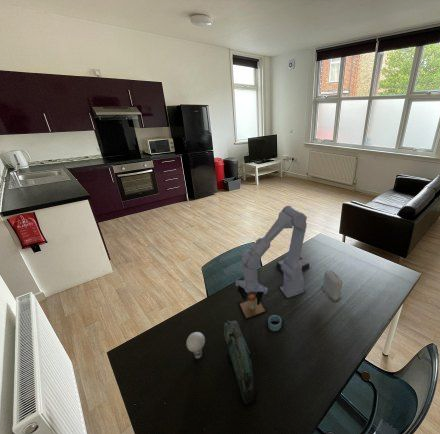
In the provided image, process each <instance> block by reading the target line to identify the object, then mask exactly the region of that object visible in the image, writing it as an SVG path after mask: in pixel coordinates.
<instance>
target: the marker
mask: <svg viewBox="0 0 440 434" xmlns="http://www.w3.org/2000/svg"><path fill="white" fill-rule="evenodd" d="M255 298H256V294H253V293H251V294H249V295H248V301H249V308H250V309H254V308H255Z"/></svg>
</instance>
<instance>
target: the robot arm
mask: <svg viewBox="0 0 440 434" xmlns="http://www.w3.org/2000/svg"><path fill="white" fill-rule="evenodd" d="M307 219H308V216H307V215H305V213H303V212H301V211H299V210H298V209H296V208H294V207H293V206H292V205H286V206H284V207H282V209H281V211H280V212H279V213H278V215H277V219H276V220H275V221H274V223H273V224H272V225H271V227H270V228H269V229H268V231H267V232H266V233H265V235H264V236H259V238H258V239H256V240H255V242H254V243H253V244H252V246H251V247H250V248H249V249H248V250H244V251H243V252H242V254H241V256H240V257H239V260H240V261H241V262H242V266H243V267H242V268H243V280H240V279H237V280H235V287H238V288H237V290H236V291H237V292H238V293H239V295H240V296H241V298H242V300H243V302H246V301H247V299H248V294H250V293H252V292H253V293H255V292H256V294H255V298H257V305H259V304H260V302H261V301H262V298H263V295H267V293H268V290H269V288H268V287H266V286H264V285H262V284H261V283H259V280H258V267H259V266H260V263H261V260H262V257H263V256H264V255H265V254H266V252H267V251H268V250H269V249H270V248H271V242H272V241H273V240H275V239H276V237H277V236H278V235H279V234H281V232H283V230H284V229H292V232H291V238H290V243H289V249H288V252H287V256H286V257H284V258H283V260H284V261H283V263H282V265H281V270H282V271H283V273H282V274H283V285H282V286H279V289H280V290H281V292H282V293H283V295H284V296H285V297H286V298H287V299H290V298H291V297H295V296H297V295H300V294H304V292H305V291H304V286H305V285H304V284H305V283H304V282H305V280H304V279H305V278H304V276H303V271H302V265H301V263H300V261H299V259H300V257H301V253H302V249H303V245H304V240H305V235H306V230H307ZM261 303H262V302H261Z"/></svg>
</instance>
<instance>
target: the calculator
mask: <svg viewBox="0 0 440 434" xmlns="http://www.w3.org/2000/svg"><path fill="white" fill-rule="evenodd" d="M283 261H284V259H281V260H279V261H277V262H276V269H277V270H278V271H280V272H281V273H282V274H283V271H282V270H281V265H282V263H283ZM299 261H300V263H301V265H302V272H303V271H307V270H308V269H309V268H310V263H309V261H307V260H305V259H304V258H302V257H301V256H300V259H299Z"/></svg>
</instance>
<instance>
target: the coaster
mask: <svg viewBox="0 0 440 434" xmlns="http://www.w3.org/2000/svg"><path fill="white" fill-rule="evenodd" d="M239 306H240V308H241V310H242V312H243V314H244V317H245V319H248V318H251V317H254V316H257V315H259V314H262V313H265V312H266V309H265V308H264V305H263V304H262V302H260V304H259V305H257V298H256V297H255V308H254V309H250V308H249V300H245V301H243V302H241V303H239Z"/></svg>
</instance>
